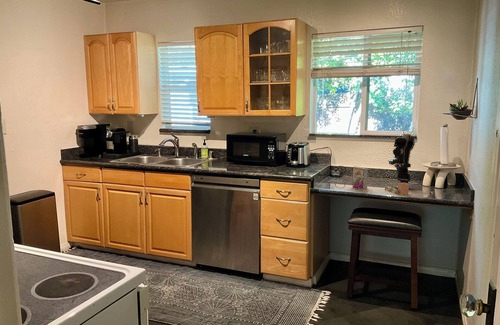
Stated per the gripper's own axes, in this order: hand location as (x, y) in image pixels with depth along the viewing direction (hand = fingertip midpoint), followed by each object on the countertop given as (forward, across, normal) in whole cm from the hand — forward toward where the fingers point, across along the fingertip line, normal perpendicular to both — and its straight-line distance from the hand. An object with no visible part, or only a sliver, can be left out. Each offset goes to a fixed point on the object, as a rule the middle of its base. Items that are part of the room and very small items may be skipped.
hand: (399, 175), depth 295 cm
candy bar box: (+13, -20, -21) cm, 32 cm away
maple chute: (+13, +1, -2) cm, 13 cm away
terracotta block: (+12, +9, -2) cm, 15 cm away
